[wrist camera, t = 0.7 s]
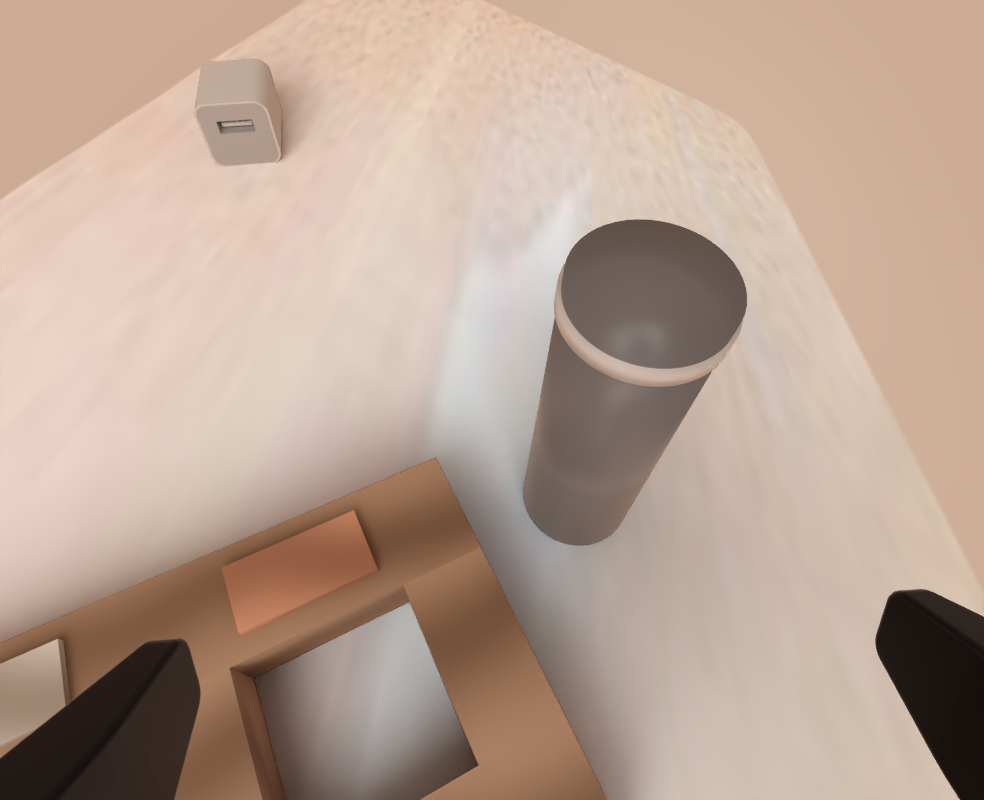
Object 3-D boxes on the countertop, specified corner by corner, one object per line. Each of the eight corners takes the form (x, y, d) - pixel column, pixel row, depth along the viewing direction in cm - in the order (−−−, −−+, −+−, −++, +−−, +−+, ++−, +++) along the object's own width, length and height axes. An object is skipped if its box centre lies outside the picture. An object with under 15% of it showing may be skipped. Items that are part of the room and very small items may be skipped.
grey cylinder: (650, 518, 25) (792, 317, 14) (554, 566, 24) (627, 388, 13) (592, 431, 27) (675, 197, 16) (502, 472, 26) (525, 249, 15)
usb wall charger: (216, 167, 36) (189, 105, 33) (223, 102, 40) (200, 39, 36) (283, 162, 37) (264, 100, 33) (285, 98, 40) (268, 35, 37)
